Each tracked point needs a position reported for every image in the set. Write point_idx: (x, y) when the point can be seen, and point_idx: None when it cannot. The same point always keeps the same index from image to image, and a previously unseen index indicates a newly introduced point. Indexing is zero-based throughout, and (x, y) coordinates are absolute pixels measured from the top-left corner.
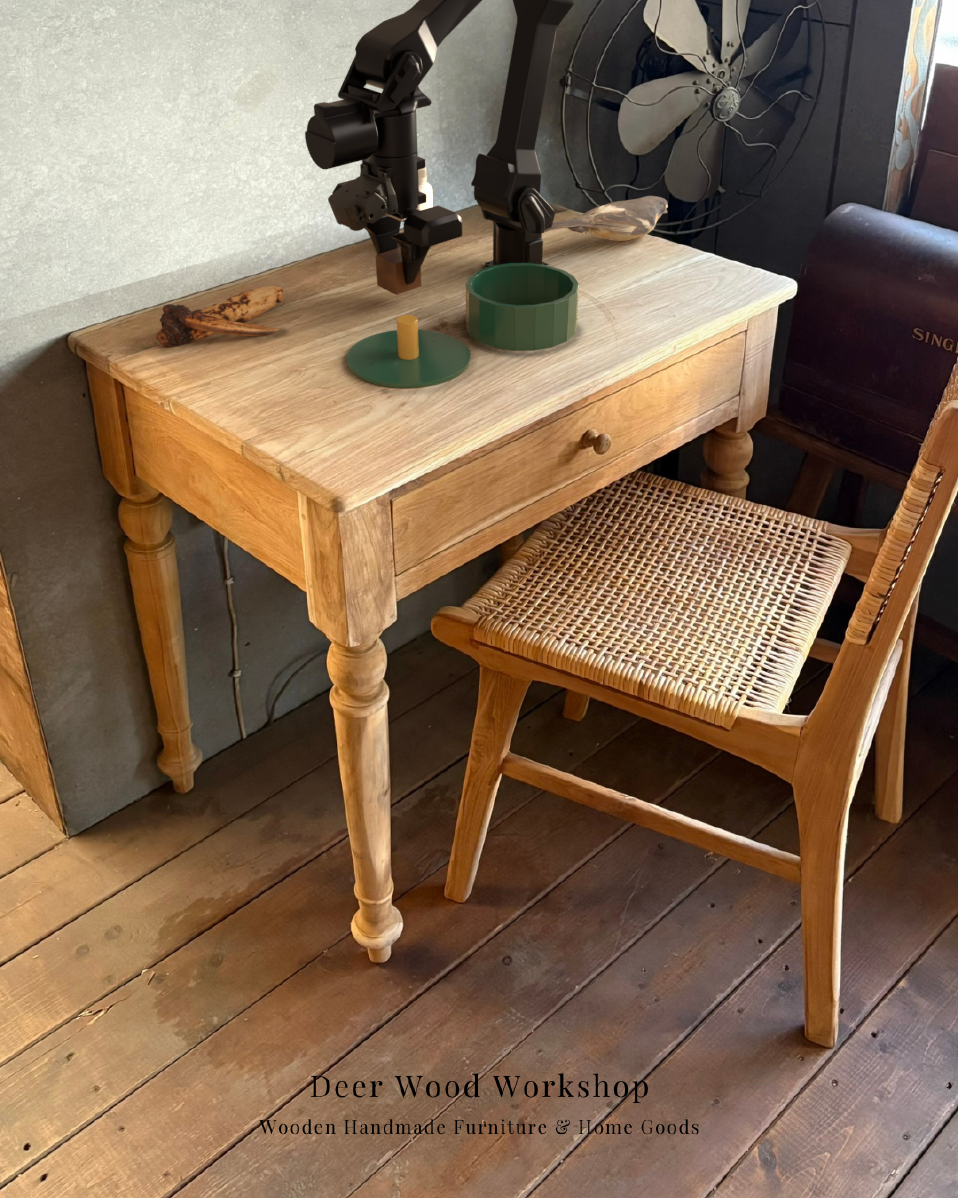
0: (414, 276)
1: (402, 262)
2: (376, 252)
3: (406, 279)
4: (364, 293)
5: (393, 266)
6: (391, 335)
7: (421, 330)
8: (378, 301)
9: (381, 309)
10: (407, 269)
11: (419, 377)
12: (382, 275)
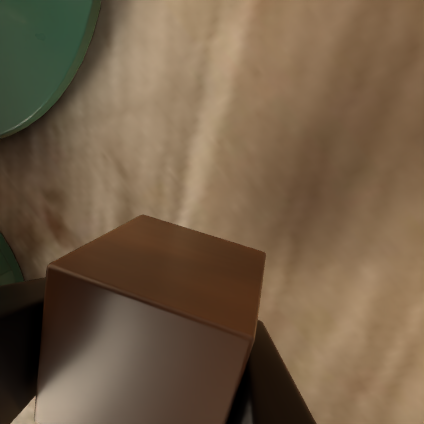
0: None
1: (28, 302)
2: (300, 395)
3: None
4: (387, 298)
5: (74, 259)
6: (51, 24)
7: (16, 119)
8: (303, 267)
9: (256, 222)
10: (26, 282)
11: None
12: (212, 260)
